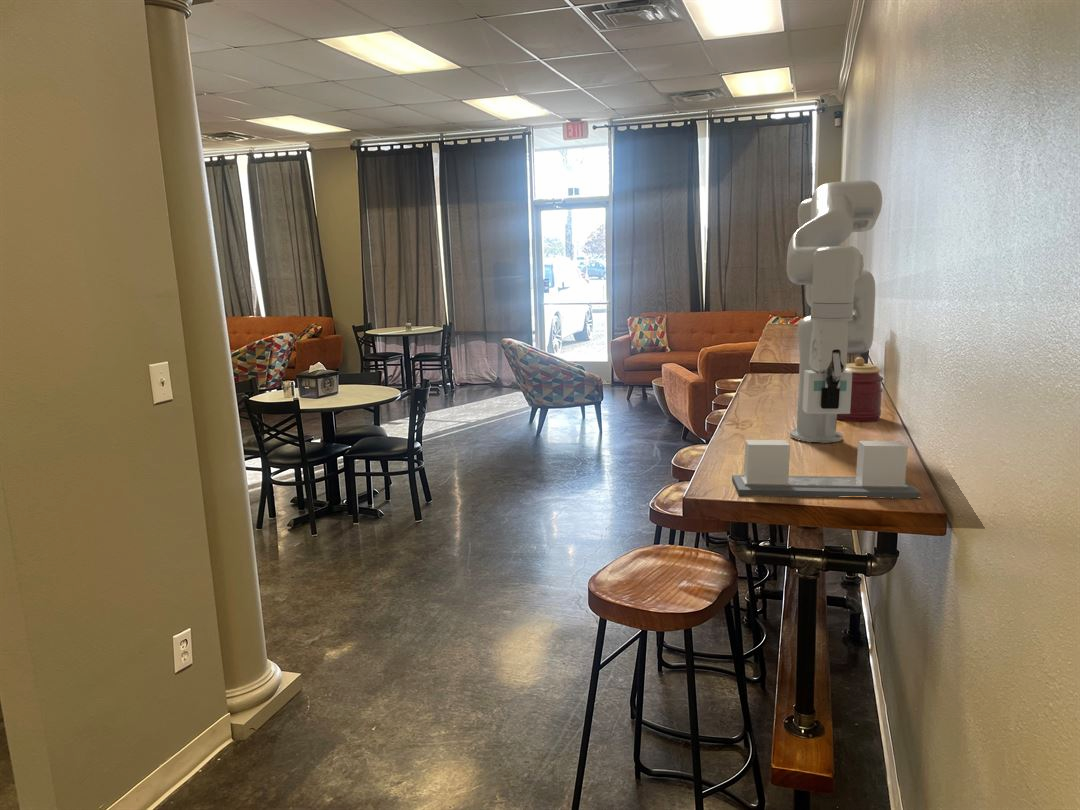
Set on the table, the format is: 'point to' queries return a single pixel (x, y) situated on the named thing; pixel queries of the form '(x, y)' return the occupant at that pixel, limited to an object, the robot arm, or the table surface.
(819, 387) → the block
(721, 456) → the table surface
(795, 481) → the metal rail
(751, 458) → the mounted modules
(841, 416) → the canister
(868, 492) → the rail board
